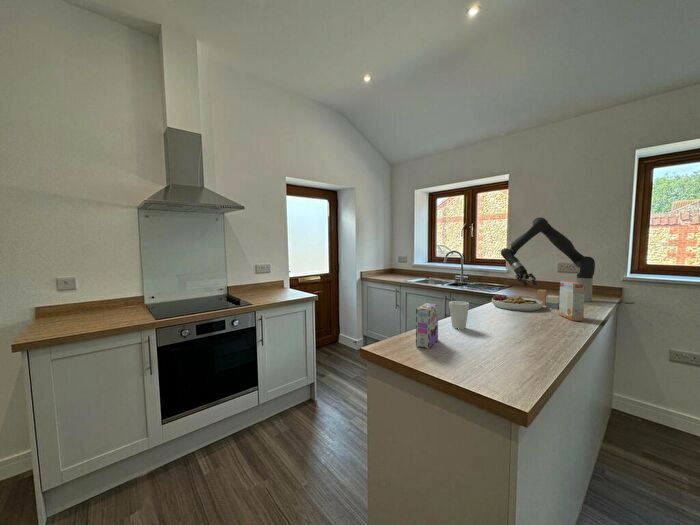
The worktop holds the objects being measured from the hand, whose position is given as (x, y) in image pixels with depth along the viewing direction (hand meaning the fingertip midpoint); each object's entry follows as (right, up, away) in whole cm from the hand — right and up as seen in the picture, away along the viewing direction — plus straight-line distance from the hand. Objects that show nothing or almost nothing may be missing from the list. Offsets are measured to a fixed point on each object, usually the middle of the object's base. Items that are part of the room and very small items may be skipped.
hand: (531, 285), depth 211 cm
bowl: (-20, -14, -16) cm, 29 cm away
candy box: (-100, -18, -87) cm, 134 cm away
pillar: (+2, -13, -8) cm, 15 cm away
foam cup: (-78, -17, -64) cm, 103 cm away
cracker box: (-8, -15, -48) cm, 51 cm away
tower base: (+1, -14, -20) cm, 25 cm away
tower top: (+1, -10, -20) cm, 23 cm away
